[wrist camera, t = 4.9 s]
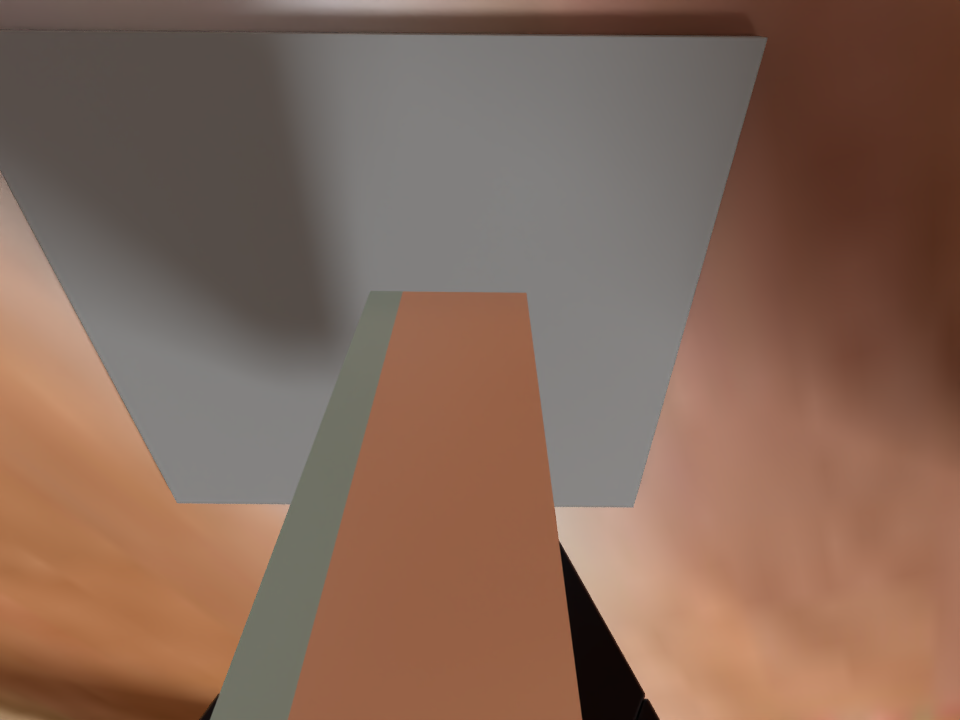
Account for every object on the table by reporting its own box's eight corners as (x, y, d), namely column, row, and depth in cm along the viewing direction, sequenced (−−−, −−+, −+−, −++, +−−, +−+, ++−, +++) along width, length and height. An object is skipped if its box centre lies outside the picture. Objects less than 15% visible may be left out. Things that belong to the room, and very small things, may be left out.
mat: (758, 35, 10) (767, 37, 10) (630, 498, 18) (633, 507, 18) (-56, 29, 10) (-74, 31, 10) (182, 494, 18) (177, 503, 18)
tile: (526, 292, 8) (606, 900, 3) (506, 580, 13) (521, 1004, 7) (370, 291, 8) (146, 894, 3) (408, 579, 13) (354, 1001, 7)
